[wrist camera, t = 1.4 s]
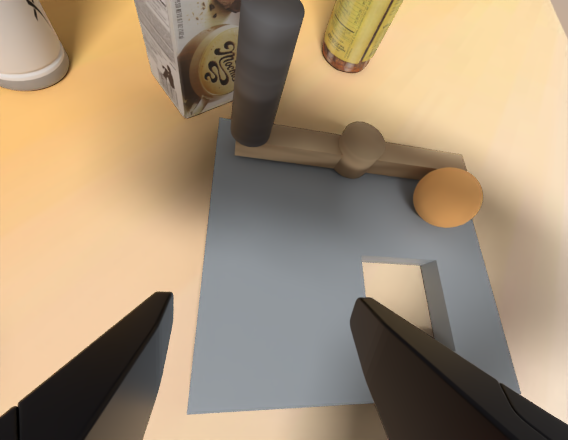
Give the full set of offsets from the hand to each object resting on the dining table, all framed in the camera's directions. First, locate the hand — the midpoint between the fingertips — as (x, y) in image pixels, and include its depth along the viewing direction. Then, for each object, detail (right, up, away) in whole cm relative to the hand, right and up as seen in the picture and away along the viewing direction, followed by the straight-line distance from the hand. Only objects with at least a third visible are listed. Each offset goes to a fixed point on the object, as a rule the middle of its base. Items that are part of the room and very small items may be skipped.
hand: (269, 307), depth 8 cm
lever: (+6, +8, +17) cm, 20 cm away
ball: (+14, +4, +15) cm, 21 cm away
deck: (+6, 0, +16) cm, 18 cm away
